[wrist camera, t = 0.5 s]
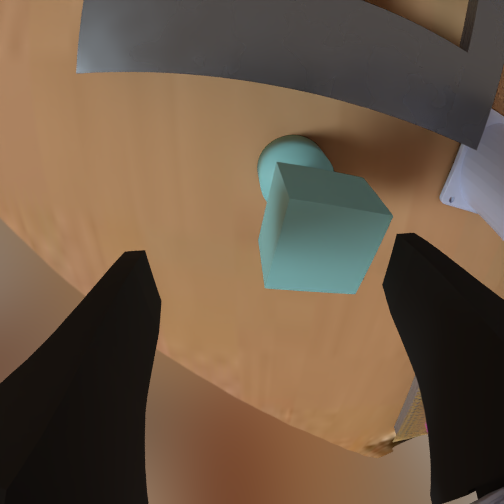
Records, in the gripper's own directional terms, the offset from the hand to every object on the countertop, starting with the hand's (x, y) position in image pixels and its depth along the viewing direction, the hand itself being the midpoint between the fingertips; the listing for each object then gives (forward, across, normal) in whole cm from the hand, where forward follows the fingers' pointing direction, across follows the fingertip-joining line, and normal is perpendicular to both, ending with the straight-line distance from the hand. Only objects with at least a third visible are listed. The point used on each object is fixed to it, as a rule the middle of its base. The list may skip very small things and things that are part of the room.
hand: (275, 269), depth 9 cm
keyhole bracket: (+10, -4, -12) cm, 16 cm away
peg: (+10, -2, +1) cm, 11 cm away
